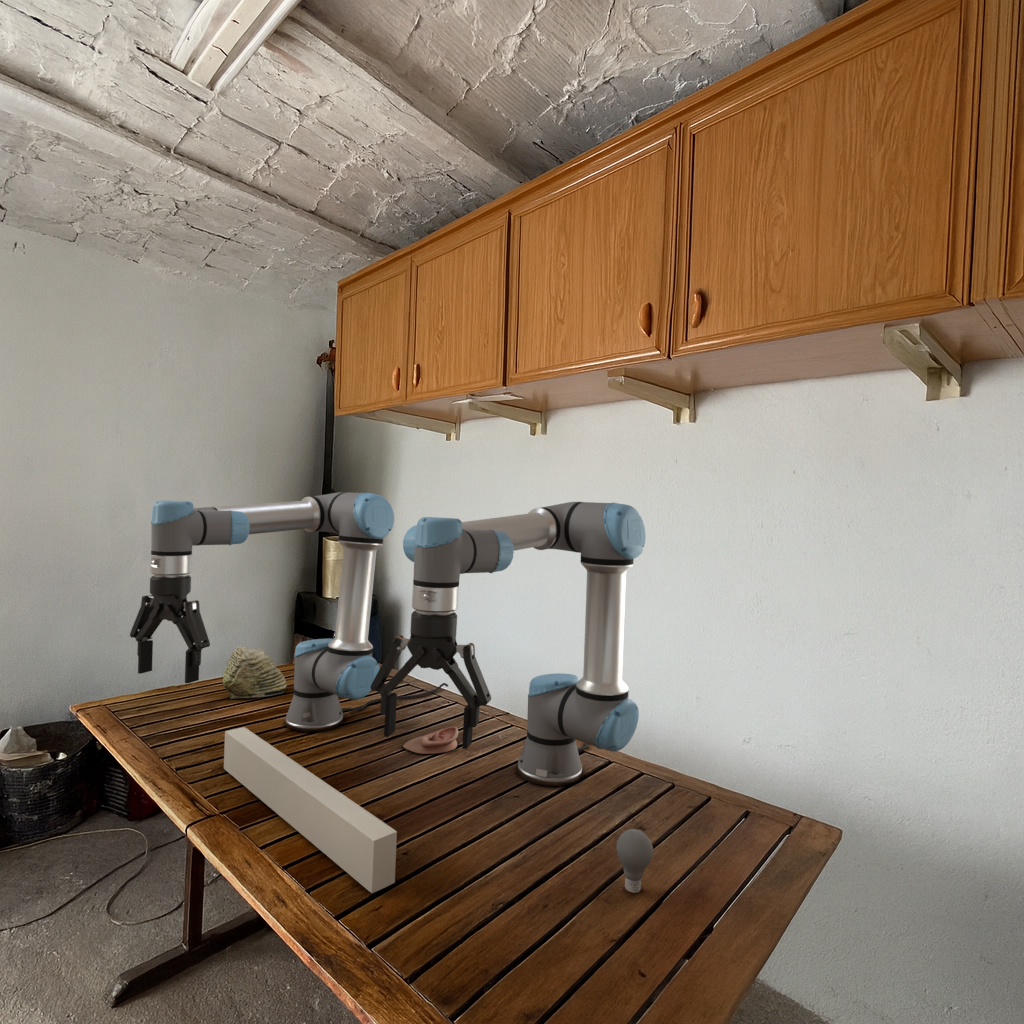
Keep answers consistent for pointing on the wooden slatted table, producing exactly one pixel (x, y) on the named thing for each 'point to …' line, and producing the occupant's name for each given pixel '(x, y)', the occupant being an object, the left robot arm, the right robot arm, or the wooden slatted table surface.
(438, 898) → the wooden slatted table surface
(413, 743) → the anatomical model
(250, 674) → the fossil
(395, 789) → the wooden slatted table surface
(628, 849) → the light bulb
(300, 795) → the bar
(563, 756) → the right robot arm
